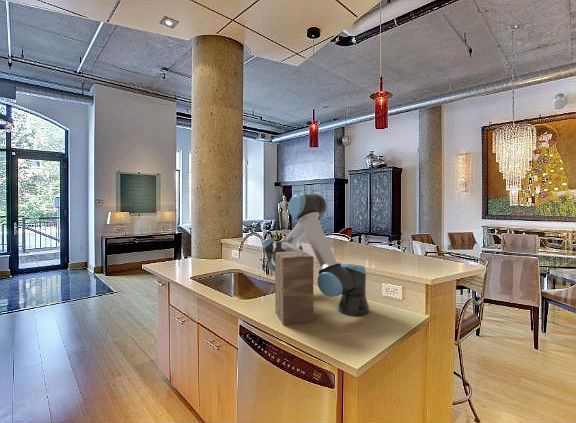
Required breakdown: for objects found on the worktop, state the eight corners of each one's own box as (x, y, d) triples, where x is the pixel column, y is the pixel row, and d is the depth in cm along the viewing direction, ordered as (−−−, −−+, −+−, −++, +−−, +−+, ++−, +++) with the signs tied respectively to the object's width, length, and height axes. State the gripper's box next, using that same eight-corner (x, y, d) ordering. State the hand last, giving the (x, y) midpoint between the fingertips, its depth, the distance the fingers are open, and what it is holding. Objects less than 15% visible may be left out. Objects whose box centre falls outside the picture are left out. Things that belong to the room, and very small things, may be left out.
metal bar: (281, 247, 166) (281, 242, 166) (286, 247, 167) (286, 242, 167) (295, 256, 141) (295, 250, 141) (301, 256, 142) (301, 249, 142)
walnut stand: (275, 312, 156) (275, 251, 155) (302, 310, 160) (302, 250, 159) (283, 325, 141) (283, 257, 140) (313, 322, 144) (313, 255, 143)
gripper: (301, 263, 179) (312, 249, 160) (258, 266, 173) (264, 251, 154) (299, 251, 182) (309, 235, 164) (257, 252, 176) (263, 237, 158)
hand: (287, 243), depth 159 cm, fingers open, 12 cm apart
